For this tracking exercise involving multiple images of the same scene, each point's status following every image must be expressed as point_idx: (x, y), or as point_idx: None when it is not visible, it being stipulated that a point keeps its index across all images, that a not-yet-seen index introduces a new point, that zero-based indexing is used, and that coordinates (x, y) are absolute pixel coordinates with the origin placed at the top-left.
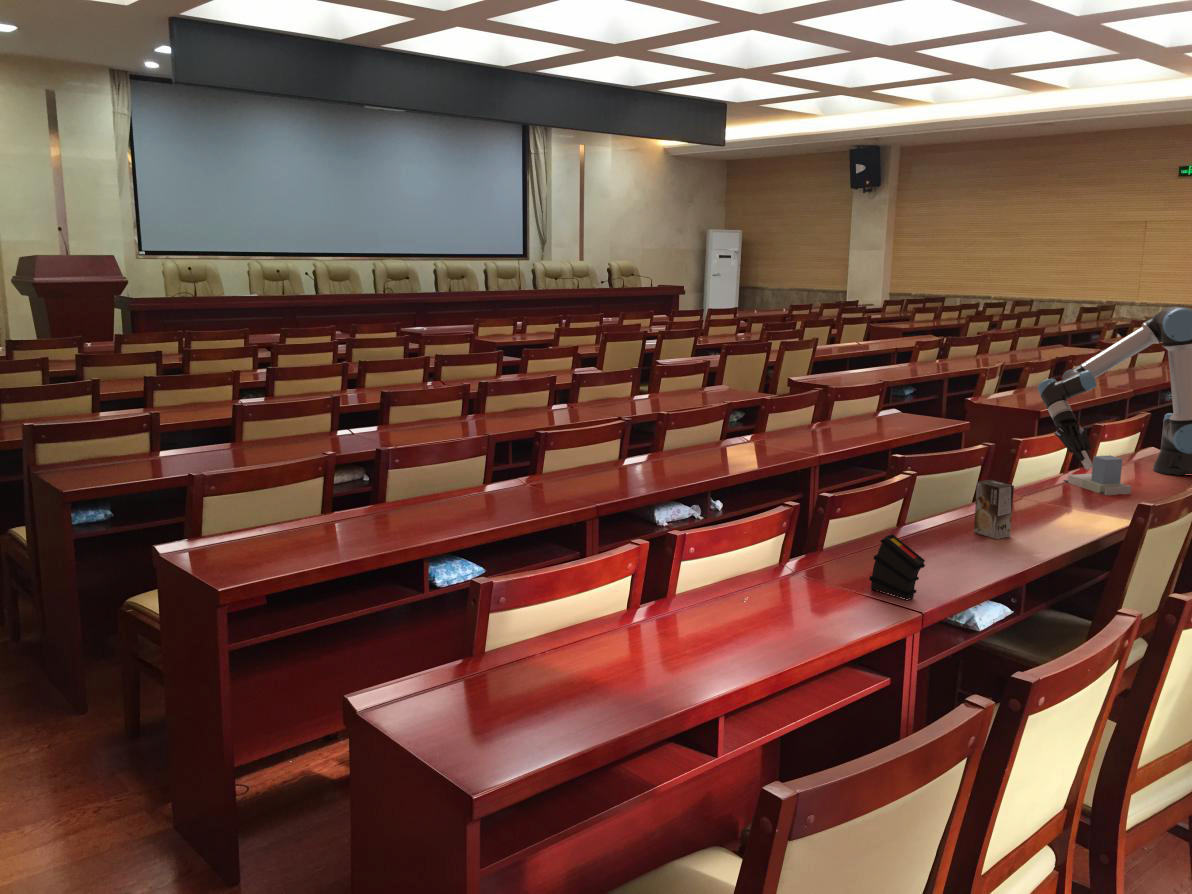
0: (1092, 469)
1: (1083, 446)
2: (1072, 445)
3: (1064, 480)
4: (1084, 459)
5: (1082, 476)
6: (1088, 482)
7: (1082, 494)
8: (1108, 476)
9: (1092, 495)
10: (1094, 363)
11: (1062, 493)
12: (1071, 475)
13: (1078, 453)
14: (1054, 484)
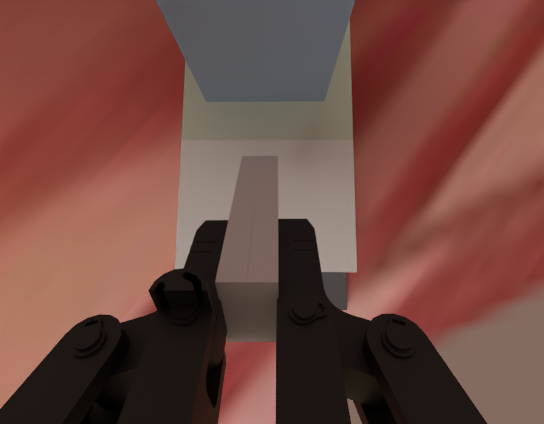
0: (338, 51)
1: (185, 373)
2: (445, 419)
3: (346, 301)
4: (278, 221)
5: (297, 211)
6: (349, 94)
7: (434, 36)
8: None
9: (398, 11)
10: None
11: (521, 73)
12: (349, 254)
13: (321, 289)
14: (443, 254)
